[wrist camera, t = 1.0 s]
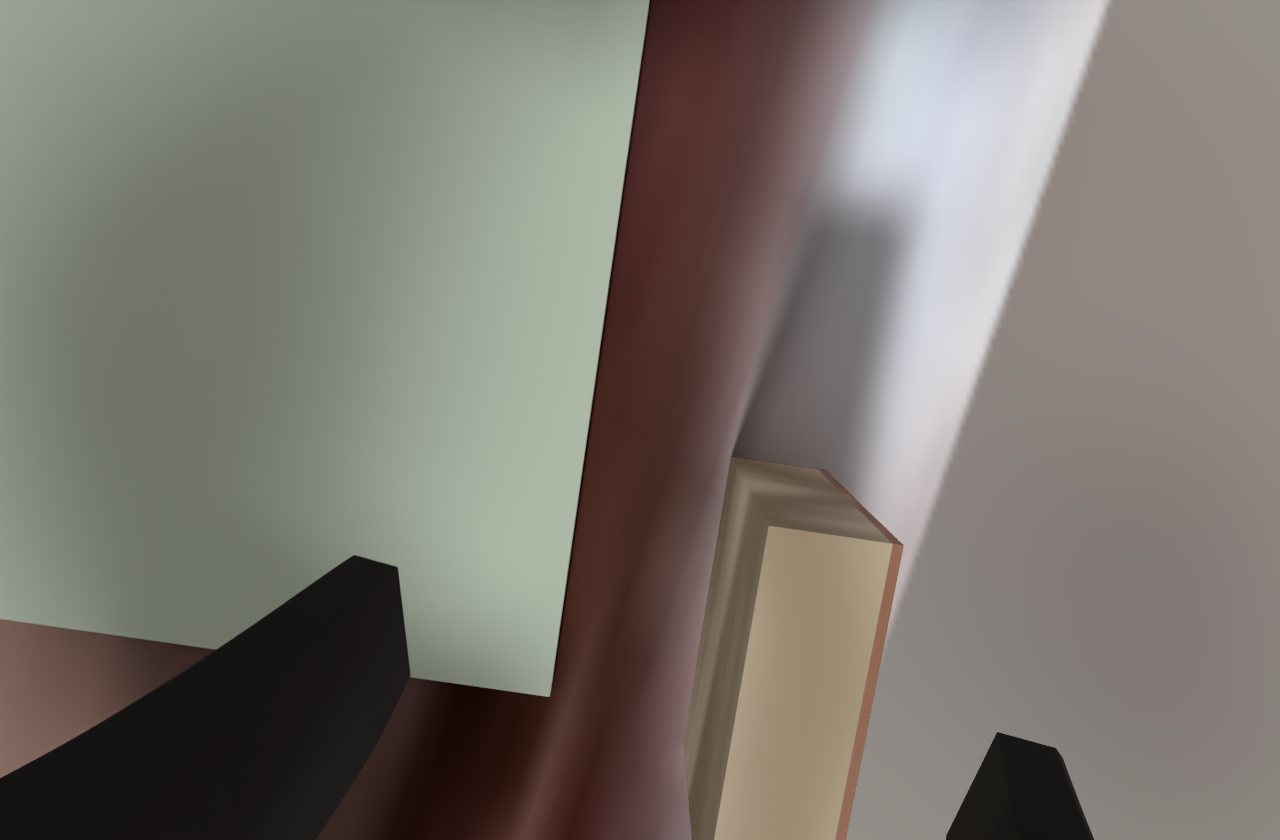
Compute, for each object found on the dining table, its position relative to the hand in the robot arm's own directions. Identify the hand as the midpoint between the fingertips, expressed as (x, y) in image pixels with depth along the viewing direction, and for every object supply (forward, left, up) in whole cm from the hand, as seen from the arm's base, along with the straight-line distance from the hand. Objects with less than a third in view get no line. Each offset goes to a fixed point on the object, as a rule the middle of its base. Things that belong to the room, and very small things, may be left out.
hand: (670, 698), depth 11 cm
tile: (-3, -3, -13) cm, 13 cm away
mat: (+4, +11, -13) cm, 17 cm away
